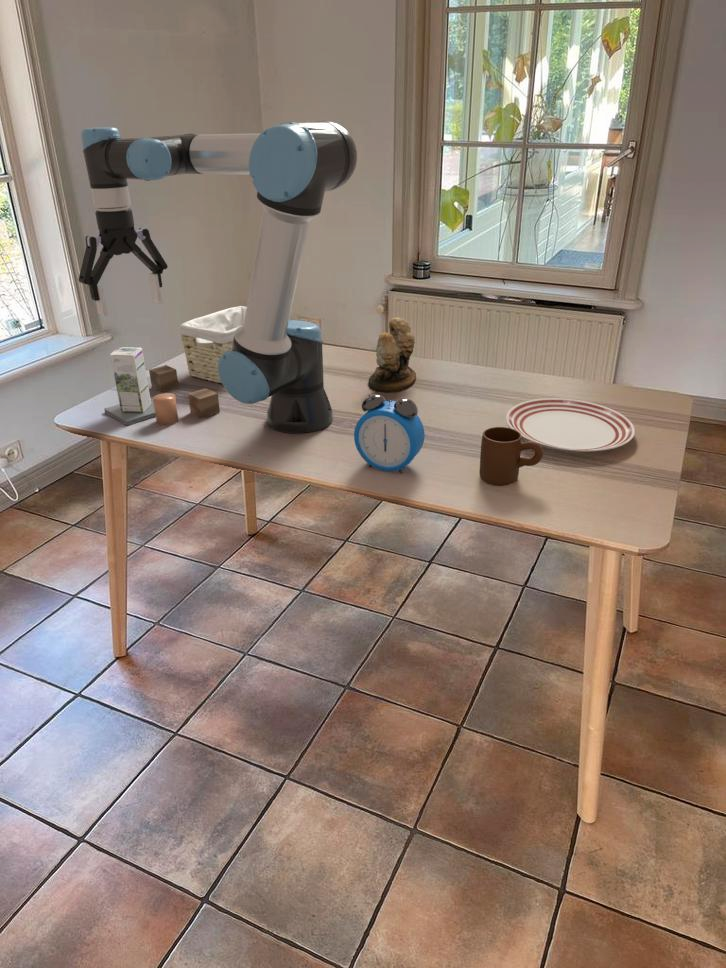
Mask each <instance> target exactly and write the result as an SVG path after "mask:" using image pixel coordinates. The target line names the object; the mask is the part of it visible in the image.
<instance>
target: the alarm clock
mask: <svg viewBox="0 0 726 968" xmlns="http://www.w3.org/2000/svg"><path fill="white" fill-rule="evenodd" d="M361 410H362V411H363V412H365V413H364V414H363V415H362V416H361V417H360V418H359V419H358V421H357V422H356V424H355V427H354V433H353V438H354V439H353V440H354V445H355V447H356V450H357V452H358V454H359V456H360V457H361V458H362V459H363V460H364V461H365V462H366V463H367V464H368V465H369V468H371V467H373V468H374V469H378V470H379V471H384V472H396V471H398V472H399V473H400V474H403V471H402V469H405V468H406V467H407V466H408V465H409V464H411V462H412V461H413V460H414V459H415V457H416V456H417V455H418V454H419V453H420V451H421V449H422V447H423V445H424V442H425V436H426V435H425V427H424V425H423V422H422V420H421V418H420V416H419V415H418V412H419V409H418V406H417V404H416V402H414V401H413V400H412V399H410V398H409V397H408V398H406V397H402V398H398V399H397V400H396V401H395V400H393V399H388V398H387V399H385V397H384V396H383V395H382V394H379V393H373V394H368V396H366V397H365V398H364V400H363V401H362V403H361Z"/></svg>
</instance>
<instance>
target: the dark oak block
mask: <svg viewBox="0 0 726 968" xmlns="http://www.w3.org/2000/svg"><path fill="white" fill-rule="evenodd" d="M148 372H149V378H150V385H151V388H152V389H154V390H156V391H157V392H160V393H167V392H169V391H172V390H176V389H179V387H180V386H179V379H178V372H177V369H176V368H174V367H171V366H170V365H167V364H165V365H161V366H157V367H154V368H150V369H149V370H148Z"/></svg>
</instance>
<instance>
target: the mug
mask: <svg viewBox="0 0 726 968" xmlns="http://www.w3.org/2000/svg"><path fill="white" fill-rule="evenodd" d="M522 438H523V437H522V436H521V434H520V432H518V431H517V430H514V429H511V428H510V427H507V426H506V427H505V426H493V427H490V428H487V429H485V430H484V431H483V432H482V437H481V445H480V456H479V457H480V458H479V459H480V461H479V477H480V479H481V481H483V482H484V483H486V484H488V485H491V486H494V487H495V486H496V487H505V486H510V485H513V484H514V483H516V482H517V480H518V478H519V474H520V468H523V467H524V466H526V467H532V466H535V465H537V464H539V463H540V462H541V461H542V459H543V456H544V451H543V446H541V445H539V444H538V443H536V442H533V441H529V440H527V441H522ZM528 450H532V451H534V454H533V456H531V457H530V456H522V455H521V454H522V451H528Z"/></svg>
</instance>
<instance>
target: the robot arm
mask: <svg viewBox="0 0 726 968" xmlns="http://www.w3.org/2000/svg"><path fill="white" fill-rule="evenodd" d="M80 135H81V136H80V137H81V143H82V153H83V157H84V161H85V167H86V172H87V176H88V182H89V186H90V192H91V197H92V202H93V207H94V208H95V209H97V210H95V212H94V214H95V220H96V224H97V229H98V231H99V232H98V233H99V234H98V236H91V235H86V236H85V251H84V255H83V259H82V263H81V267H80V270H79V271H80V273H79V276H78V282H79V283H81V284H85V285H87V286H88V288H89V293H90V298H91V299H92V301H94V302H95V304H96V309H97V313H98V315H101V316H103V317H105V316H108V312H107V307H106V301H105V295H104V291H103V285H102V284H99V282H100V280H101V279H102V277H103V274H104V273H105V270H106V268H107V266H108V265H109V262H110V261H111V259H112V258H114V256H121V255H122V254H127V255H128V254H130V253H132V254H133V255H134V256H135V257H136V258H137V259H138V260H139V261H141V263H142V264H143V265H144V266H145V267H146V268H147V269H149V270H150V271H151V272H150V273H149V272H148V280H149V286H150V291H151V297H152V302H153V303H156V304H163V299H162V295H161V288H163V281H162V275H161V274H163V273H164V270H167V269H168V267H169V266H168V263H167V262H166V261H165V259H164V258H163V256H162V254H161V253H160V251H159V249H158V248H157V246H156V245H155V243H154V241H153V240H152V237H151V234H150V230H149V229H148V228H142V227H139V228H138V229H137V230H136V229H135V219H134V215H133V210H132V209H131V208H130V206H132V203H131V202H132V201H131V195H130V190H129V185H128V183H129V182H128V180H141V181H146V182H150V181H157V180H163V179H164V178H165V177H173V176H176V175H177V176H178V175H179V176H180V175H192V174H193V175H203V174H205V175H239V176H240V175H244V176H245V175H246V176H249V175H250V177H252V180H253V181H252V180H251V181H252V184H253V187H254V188H255V189H256V200H257V202H258V203H259V204H260V206H261V207H262V215H261V221H260V226H259V231H258V238H257V245H256V251H255V256H254V261H253V268H252V274H251V279H250V284H249V291H248V297H247V303H246V307H247V309H246V315H245V320H244V325H242V326H240V327H238V328H237V329H236V331H235V333H234V339H233V345H232V349H231V351H227V352H226V353H224V355H222V356H221V358H220V359H219V362H218V374H219V378H220V380H221V383H220V384H222V385H223V387H224V389H225V390H226V392H227V393H228V394H229V395H230V396H231V397H232V398H233V399H234V400H236V401H238V402H239V403H242V404H246V405H254V404H257V403H259V402H263V401H266V400H267V399H268V398H270V401H269V406H268V409H267V411H266V415H267V417H266V418H267V424H268V426H269V427H271V428H272V429H274V430H276V431H279V432H282V433H289V434H307V433H311V432H312V433H313V432H316V431H320V430H323V429H325V428H327V427H329V426H330V425H331V423H332V422H333V418H334V414H333V408H332V406H331V403H330V400H329V397H328V394H327V392H326V389H325V384H324V383H325V382H324V359H323V354H324V353H323V342H324V341H323V337H322V330H321V328H320V326H319V325H318V324H316V323H314V322H309V321H304V320H296V319H295V320H293V319H290V318H291V312H292V307H293V304H294V303H293V302H294V298H295V294H296V293H295V292H296V289H297V283H298V281H299V280H298V279H299V274H300V270H301V265H302V261H303V260H302V259H303V257H304V256H303V255H304V251H305V245H306V241H307V235H308V231H309V227H310V221H311V220H313V219H315V218H316V217H318V216H319V215H320V214H321V211H322V206H323V203H324V202H323V201H324V197H325V193H326V192H330V191H334V190H338V189H339V188H342V186H344V185H345V184H346V183H347V182H348V181H349V180H350V179H351V178H352V177H353V174H354V173H355V170H356V167H357V162H358V151H357V146H356V142H355V140H354V138H353V136H352V135H351V133H350V132H349V131H348V130H347V129H346V128H345V127H343V126H342V125H341V124H339V123H336V122H334V121H329V120H318V121H305V122H304V121H303V122H293V121H292V122H291V121H288V122H283V123H279V124H278V125H273V126H270V127H268V128H266V129H265V130H263V131H262V132H261V133H219V134H218V133H213V134H206V133H205V134H203V133H202V134H199V133H185V134H178V135H177V134H176V135H167V136H165V135H163V136H151V137H150V136H149V137H135V138H121V137H122V136H120V131H119V130H118V128H116V127H115V126H114V127H113V126H112V127H111V126H110V127H108V126H107V127H105V126H104V127H86V128H83V129H82V131H81V134H80ZM137 239H139V240H140V241H141V243H142V244H143V246H144V248H145V250H146V251H147V252H148V254H149V256H150V257H151V258H152V259H151V258H150V257H149V256H148V255H147V254H146V253H145V252H144V251H143V250H142V248H141V247H139V245H137ZM100 244H101V245H102V248H101V250H100V253H99V256H98V258H97V260H96V256H97V250H98V249H97V248H98V247H99V246H100ZM95 260H96V262H95ZM94 263H95V265H94Z"/></svg>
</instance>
